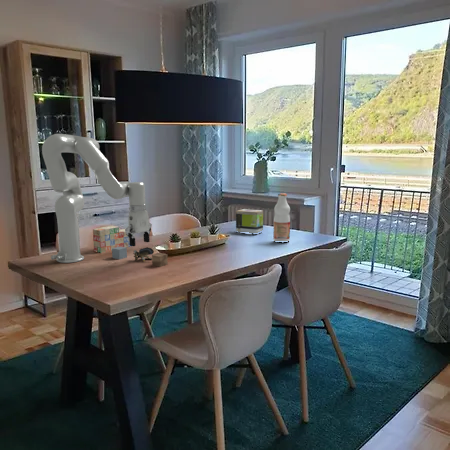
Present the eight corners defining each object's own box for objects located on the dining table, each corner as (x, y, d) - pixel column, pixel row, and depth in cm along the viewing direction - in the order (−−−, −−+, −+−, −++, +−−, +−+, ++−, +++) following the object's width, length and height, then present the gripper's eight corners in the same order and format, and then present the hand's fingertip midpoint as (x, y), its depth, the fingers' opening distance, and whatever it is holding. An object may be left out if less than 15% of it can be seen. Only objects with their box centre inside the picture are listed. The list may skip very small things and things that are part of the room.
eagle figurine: (138, 261, 208) (156, 255, 212) (133, 247, 210) (150, 242, 214) (135, 266, 215) (153, 260, 219) (130, 253, 216) (147, 248, 220)
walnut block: (160, 267, 203) (160, 256, 202) (152, 265, 205) (152, 255, 204) (167, 264, 207) (167, 254, 206) (159, 263, 209) (159, 252, 209)
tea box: (263, 232, 284) (263, 210, 281) (256, 235, 275) (256, 212, 273) (242, 230, 291) (242, 208, 289) (235, 233, 283) (235, 210, 280)
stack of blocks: (125, 244, 250) (124, 223, 247) (133, 246, 246) (132, 224, 244) (93, 251, 233) (92, 228, 231) (100, 253, 229) (99, 230, 227)
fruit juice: (270, 241, 259) (270, 193, 254) (283, 239, 263) (284, 192, 258) (279, 244, 250) (280, 194, 246) (292, 242, 255) (294, 194, 250)
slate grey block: (119, 259, 216) (119, 249, 215) (112, 258, 219) (111, 248, 218) (127, 257, 220) (126, 247, 220) (119, 256, 223) (119, 246, 222)
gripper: (130, 211, 199) (132, 248, 202) (155, 206, 214) (157, 241, 217) (118, 210, 203) (120, 246, 206) (144, 205, 218) (146, 239, 221)
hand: (139, 243), depth 211 cm, fingers open, 9 cm apart
